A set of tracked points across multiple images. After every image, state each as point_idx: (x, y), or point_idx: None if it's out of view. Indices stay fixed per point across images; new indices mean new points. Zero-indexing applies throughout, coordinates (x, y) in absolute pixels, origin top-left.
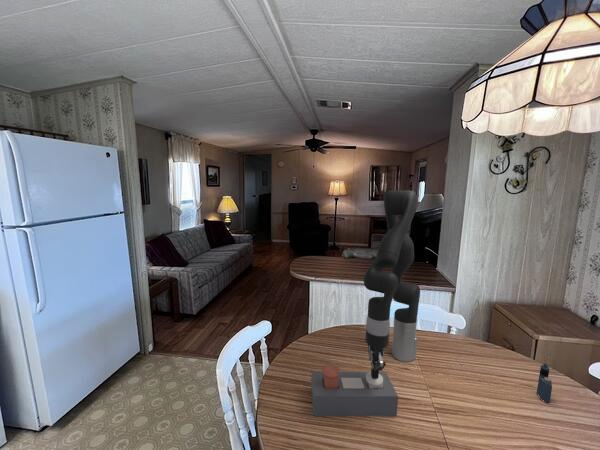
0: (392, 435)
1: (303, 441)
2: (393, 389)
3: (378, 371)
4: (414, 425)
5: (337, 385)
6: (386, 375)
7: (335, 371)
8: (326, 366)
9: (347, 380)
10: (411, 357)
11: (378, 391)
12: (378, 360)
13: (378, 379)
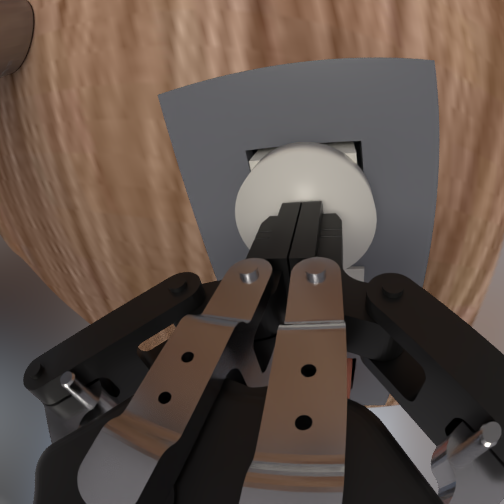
0: (492, 126)
1: None
2: (363, 67)
3: (317, 240)
4: (437, 5)
5: (351, 371)
6: (196, 91)
7: None
8: None
9: None
10: (16, 3)
11: (394, 189)
12: (444, 475)
13: (331, 197)
